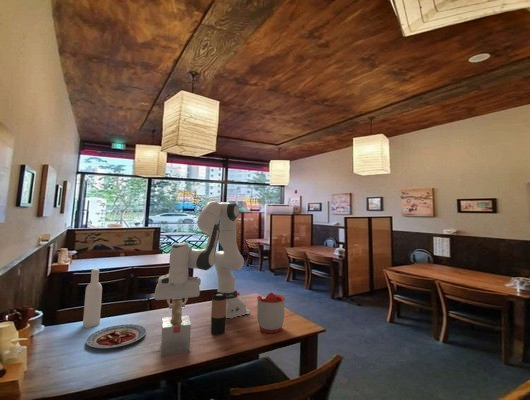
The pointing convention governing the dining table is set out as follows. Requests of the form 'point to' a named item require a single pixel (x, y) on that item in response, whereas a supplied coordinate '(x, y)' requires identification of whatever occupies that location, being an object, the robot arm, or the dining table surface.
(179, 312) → the birch post
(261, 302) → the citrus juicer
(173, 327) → the sleeve block
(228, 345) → the dining table surface
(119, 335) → the ceramic plate
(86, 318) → the bottle
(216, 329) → the travel mug
